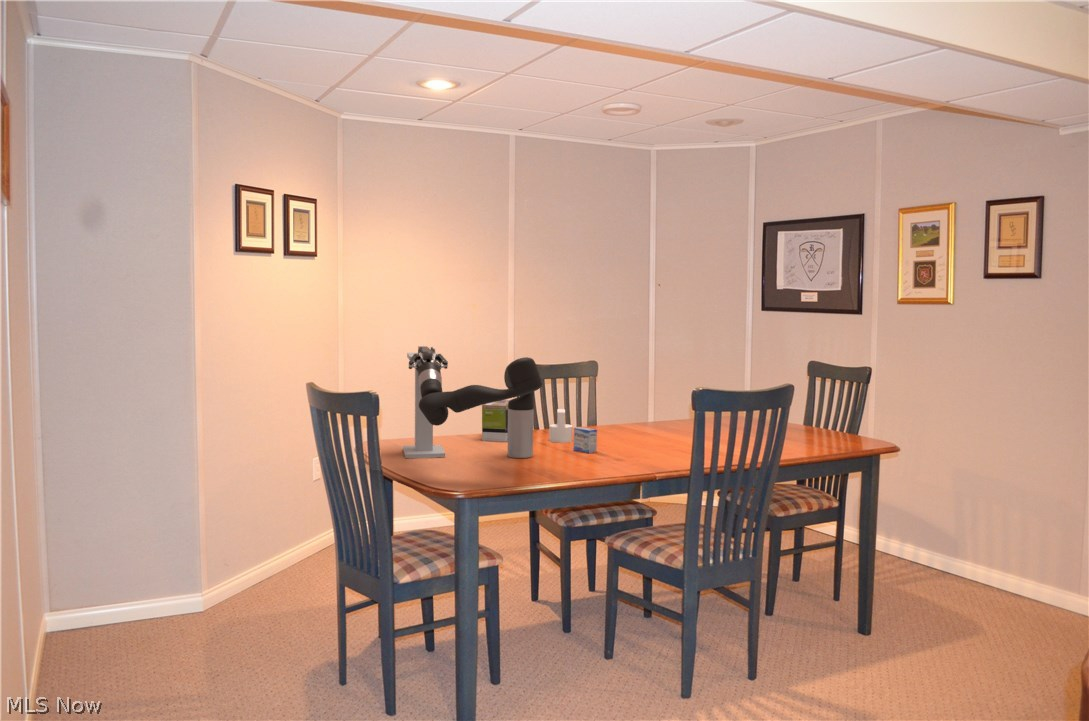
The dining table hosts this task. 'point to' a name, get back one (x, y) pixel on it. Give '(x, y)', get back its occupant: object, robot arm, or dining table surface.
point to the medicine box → (585, 440)
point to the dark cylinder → (426, 352)
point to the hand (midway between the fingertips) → (426, 349)
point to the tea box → (495, 421)
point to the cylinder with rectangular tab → (560, 429)
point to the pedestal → (422, 430)
